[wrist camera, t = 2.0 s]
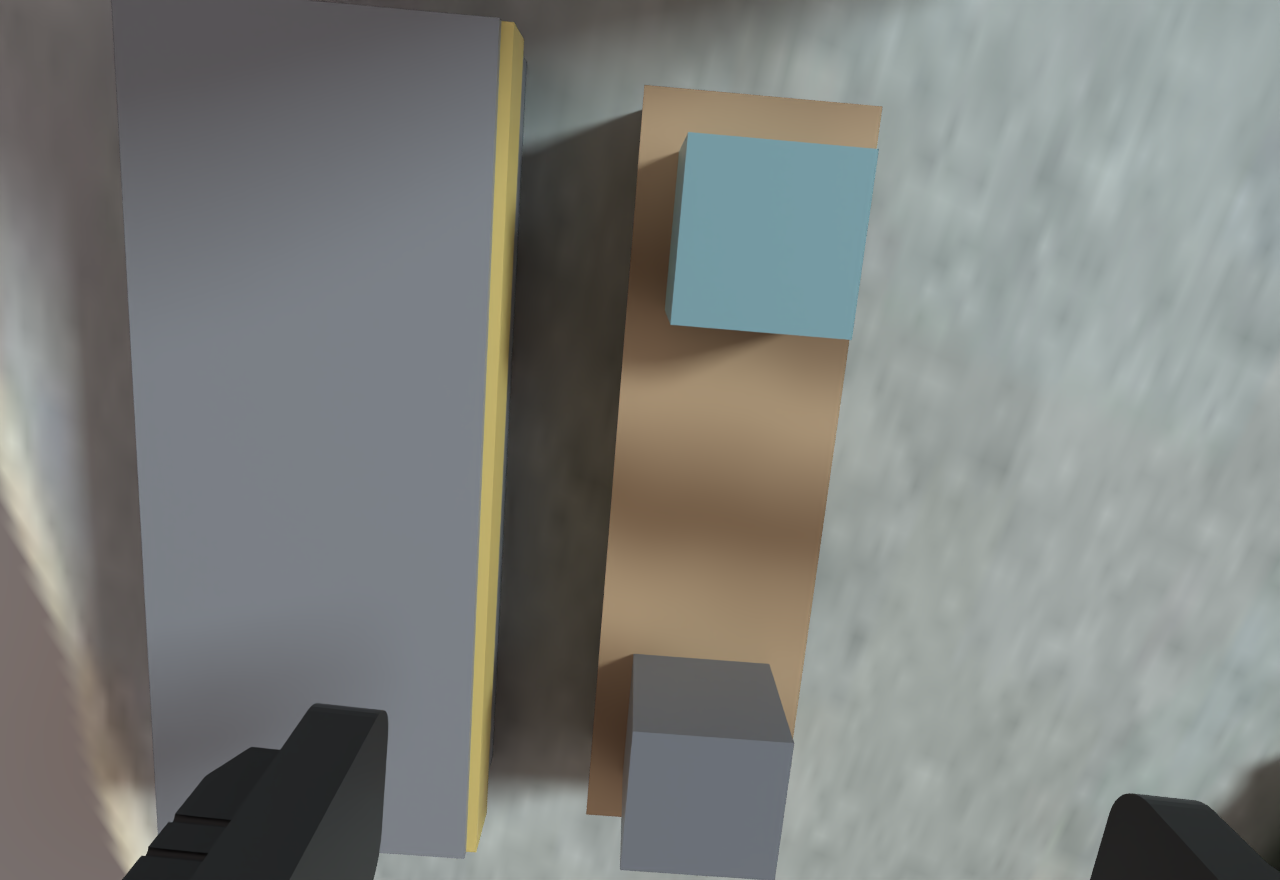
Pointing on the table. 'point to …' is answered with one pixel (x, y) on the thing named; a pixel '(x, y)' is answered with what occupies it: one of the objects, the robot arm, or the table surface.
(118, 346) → the table surface
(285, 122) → the dock
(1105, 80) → the table surface
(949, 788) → the table surface
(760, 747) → the block
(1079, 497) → the table surface
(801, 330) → the block
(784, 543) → the board
